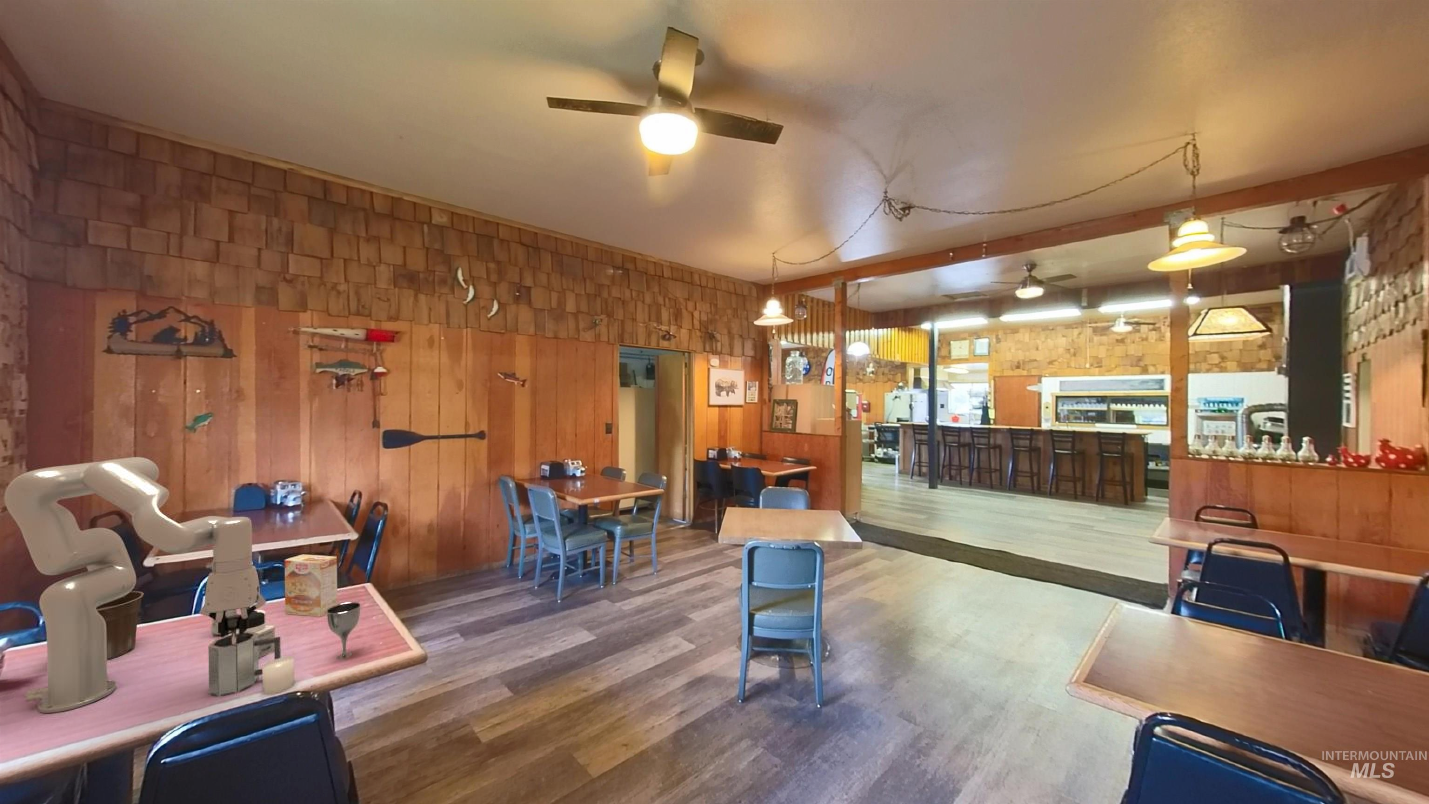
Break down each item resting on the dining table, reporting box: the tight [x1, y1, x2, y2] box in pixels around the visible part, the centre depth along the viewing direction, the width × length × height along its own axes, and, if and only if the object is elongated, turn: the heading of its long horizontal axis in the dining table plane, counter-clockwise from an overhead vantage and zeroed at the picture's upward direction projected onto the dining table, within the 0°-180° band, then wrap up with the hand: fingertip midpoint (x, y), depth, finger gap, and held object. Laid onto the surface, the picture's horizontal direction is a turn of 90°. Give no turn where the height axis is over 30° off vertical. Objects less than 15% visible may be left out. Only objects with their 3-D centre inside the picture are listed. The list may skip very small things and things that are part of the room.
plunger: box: [226, 614, 241, 645], centre depth 136 cm, size 6×6×16 cm
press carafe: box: [207, 631, 282, 698], centre depth 137 cm, size 14×9×13 cm, turn 117°
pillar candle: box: [261, 656, 295, 695], centre depth 135 cm, size 6×6×7 cm
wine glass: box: [326, 601, 361, 660], centre depth 151 cm, size 8×8×15 cm
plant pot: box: [96, 590, 144, 661], centre depth 153 cm, size 16×16×16 cm
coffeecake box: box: [284, 554, 338, 618], centre depth 184 cm, size 15×7×20 cm, turn 81°
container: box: [228, 609, 276, 659], centre depth 153 cm, size 8×8×13 cm
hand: (233, 632), depth 135 cm, fingers closed on plunger, 3 cm apart
